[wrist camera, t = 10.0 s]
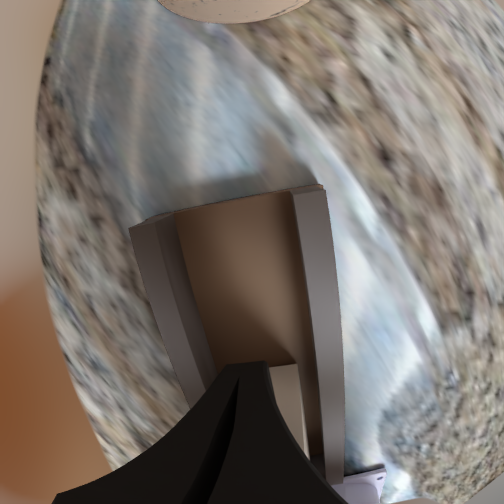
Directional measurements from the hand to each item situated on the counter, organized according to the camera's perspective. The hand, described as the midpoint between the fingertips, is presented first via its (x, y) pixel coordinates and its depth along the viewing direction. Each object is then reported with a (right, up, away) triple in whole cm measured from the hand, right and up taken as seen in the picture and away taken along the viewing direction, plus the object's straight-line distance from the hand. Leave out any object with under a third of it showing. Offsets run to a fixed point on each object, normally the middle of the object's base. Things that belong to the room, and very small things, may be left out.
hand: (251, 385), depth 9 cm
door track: (+1, -1, +5) cm, 5 cm away
